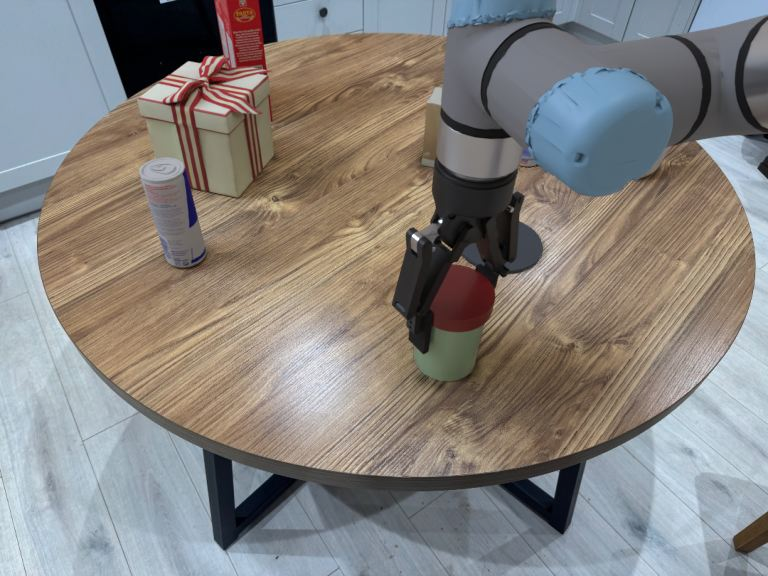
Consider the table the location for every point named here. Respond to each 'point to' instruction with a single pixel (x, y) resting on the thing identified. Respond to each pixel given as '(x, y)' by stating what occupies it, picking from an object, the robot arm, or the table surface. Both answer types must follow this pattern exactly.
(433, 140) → the cosmetic box
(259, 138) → the gift box
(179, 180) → the beverage can
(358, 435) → the table surface
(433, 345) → the jar
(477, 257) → the coaster
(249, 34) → the food packaging
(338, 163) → the table surface
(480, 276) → the lid
